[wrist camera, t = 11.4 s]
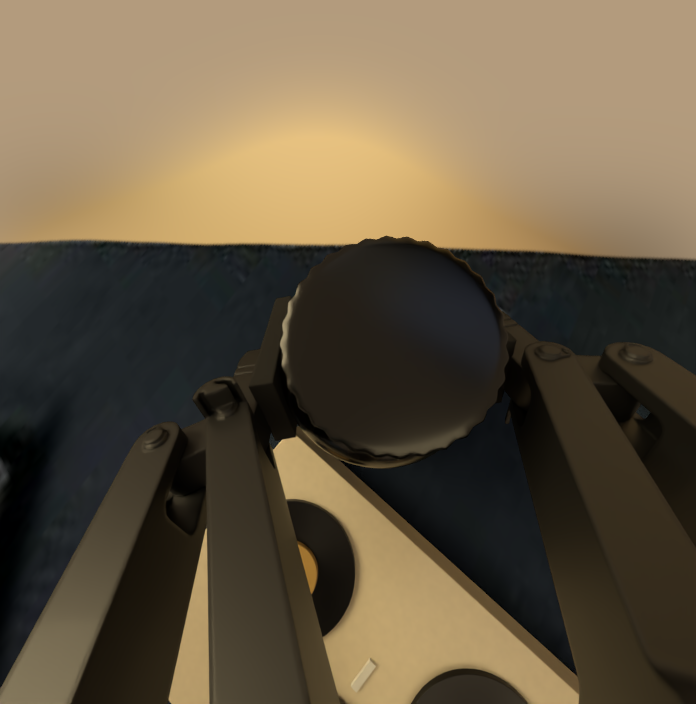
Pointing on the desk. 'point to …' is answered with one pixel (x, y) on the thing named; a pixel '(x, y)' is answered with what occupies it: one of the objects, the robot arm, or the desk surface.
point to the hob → (388, 605)
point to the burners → (336, 592)
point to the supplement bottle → (391, 352)
